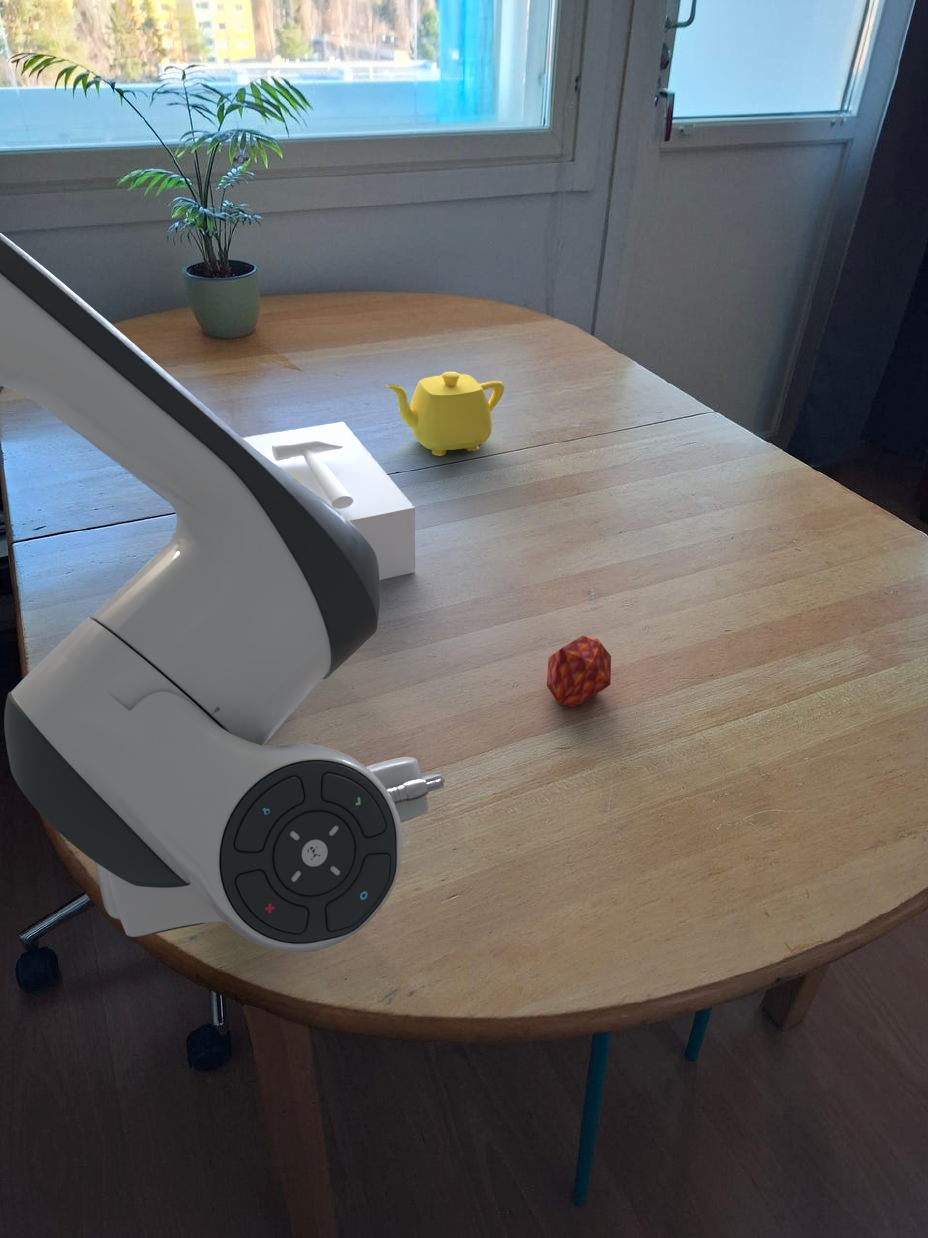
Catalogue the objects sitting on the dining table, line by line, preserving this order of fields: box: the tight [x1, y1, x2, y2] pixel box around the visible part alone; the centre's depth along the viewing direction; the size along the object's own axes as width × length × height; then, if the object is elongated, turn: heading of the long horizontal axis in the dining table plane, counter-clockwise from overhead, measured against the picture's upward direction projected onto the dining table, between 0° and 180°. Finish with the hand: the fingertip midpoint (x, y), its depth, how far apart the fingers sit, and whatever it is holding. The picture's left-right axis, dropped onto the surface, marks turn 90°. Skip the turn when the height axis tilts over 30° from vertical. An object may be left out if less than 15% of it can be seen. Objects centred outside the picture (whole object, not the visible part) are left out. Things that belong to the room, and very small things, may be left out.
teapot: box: [385, 371, 505, 457], centre depth 128 cm, size 18×11×11 cm, turn 110°
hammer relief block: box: [242, 421, 416, 581], centre depth 106 cm, size 14×25×11 cm, turn 25°
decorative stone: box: [546, 635, 612, 708], centre depth 84 cm, size 6×7×8 cm
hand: (259, 820), depth 61 cm, fingers open, 8 cm apart
